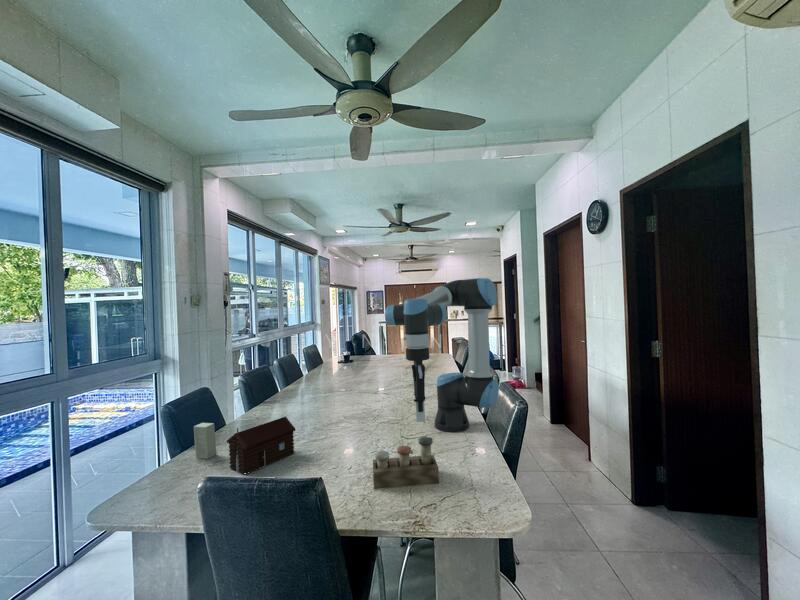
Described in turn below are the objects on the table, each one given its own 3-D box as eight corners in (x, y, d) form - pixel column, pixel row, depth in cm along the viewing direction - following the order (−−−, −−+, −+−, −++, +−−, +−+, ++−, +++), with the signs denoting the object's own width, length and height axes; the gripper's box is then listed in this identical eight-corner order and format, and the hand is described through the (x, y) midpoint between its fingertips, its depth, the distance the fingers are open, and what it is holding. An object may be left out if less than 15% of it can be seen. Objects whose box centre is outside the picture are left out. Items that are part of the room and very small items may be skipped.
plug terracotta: (411, 470, 118) (410, 445, 118) (412, 476, 113) (411, 450, 113) (397, 471, 117) (396, 446, 117) (398, 477, 113) (397, 452, 113)
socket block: (433, 469, 120) (433, 454, 120) (439, 483, 112) (438, 467, 112) (373, 474, 119) (372, 459, 119) (373, 488, 110) (373, 472, 110)
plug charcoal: (432, 461, 118) (431, 436, 118) (434, 467, 114) (433, 441, 114) (418, 462, 118) (417, 437, 118) (420, 468, 113) (419, 442, 113)
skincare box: (216, 454, 140) (215, 423, 140) (207, 459, 136) (206, 427, 136) (203, 453, 142) (202, 422, 142) (194, 458, 138) (193, 426, 138)
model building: (246, 476, 121) (244, 431, 121) (227, 468, 128) (226, 425, 128) (296, 454, 138) (294, 414, 138) (277, 447, 145) (276, 410, 145)
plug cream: (389, 475, 117) (388, 450, 117) (390, 481, 113) (389, 456, 113) (376, 476, 117) (375, 451, 117) (376, 483, 112) (375, 457, 112)
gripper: (404, 345, 122) (407, 415, 122) (407, 350, 109) (410, 428, 109) (426, 343, 123) (429, 413, 123) (432, 349, 109) (435, 427, 110)
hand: (420, 420), depth 116 cm, fingers closed
